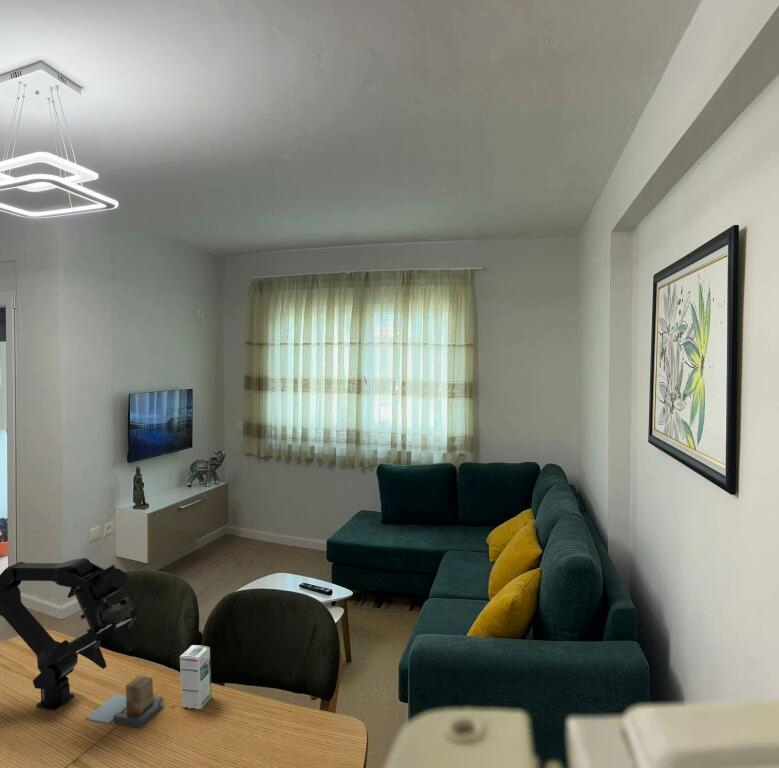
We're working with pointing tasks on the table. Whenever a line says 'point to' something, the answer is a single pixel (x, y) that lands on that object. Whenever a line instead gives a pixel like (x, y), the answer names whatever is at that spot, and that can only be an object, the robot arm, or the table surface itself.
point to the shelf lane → (142, 718)
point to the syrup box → (195, 676)
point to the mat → (109, 709)
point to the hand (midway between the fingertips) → (118, 658)
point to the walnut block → (139, 695)
